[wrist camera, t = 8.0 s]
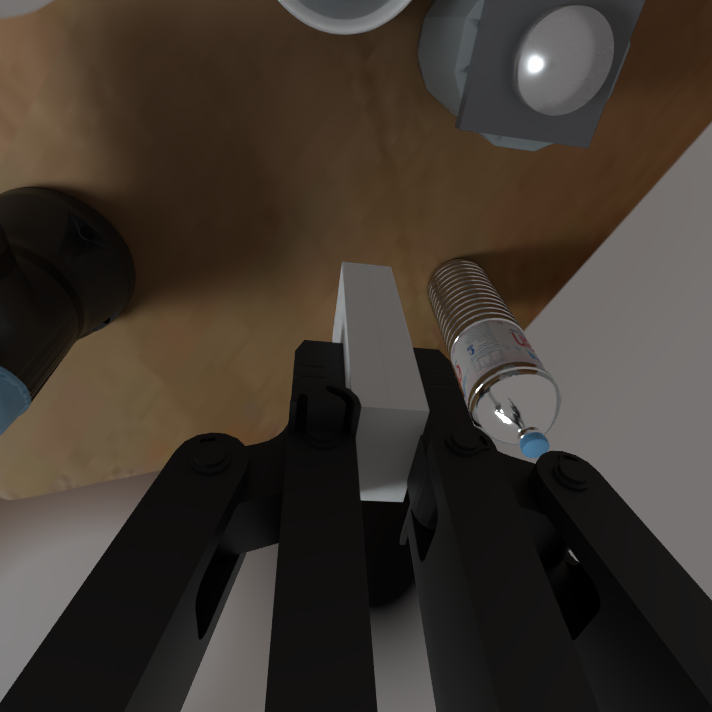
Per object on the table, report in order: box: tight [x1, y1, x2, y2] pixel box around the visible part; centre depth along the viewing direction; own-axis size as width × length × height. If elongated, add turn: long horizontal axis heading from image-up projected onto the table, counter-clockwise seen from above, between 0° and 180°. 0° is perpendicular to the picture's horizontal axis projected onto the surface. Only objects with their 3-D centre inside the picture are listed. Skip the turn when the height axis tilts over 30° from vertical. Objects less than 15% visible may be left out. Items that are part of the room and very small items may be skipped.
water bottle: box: [427, 259, 561, 458], centre depth 43 cm, size 7×7×25 cm
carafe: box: [418, 0, 645, 151], centre depth 33 cm, size 10×12×16 cm
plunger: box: [509, 5, 614, 116], centre depth 32 cm, size 6×6×16 cm
